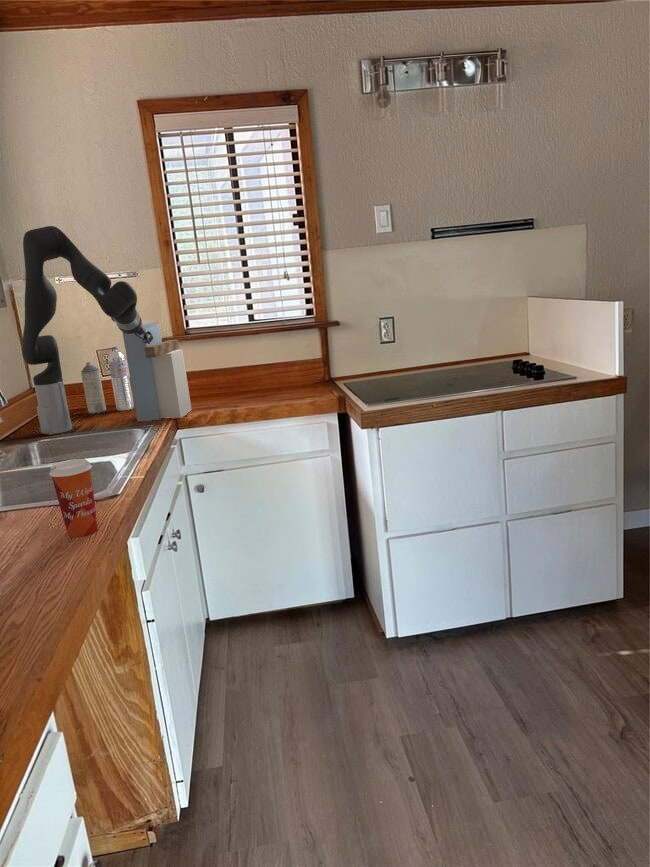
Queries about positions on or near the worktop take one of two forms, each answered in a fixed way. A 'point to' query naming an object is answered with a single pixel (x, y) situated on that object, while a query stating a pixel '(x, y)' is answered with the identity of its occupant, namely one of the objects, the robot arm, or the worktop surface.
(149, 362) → the tower
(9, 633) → the worktop surface
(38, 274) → the robot arm
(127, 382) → the water bottle
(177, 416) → the white tall block
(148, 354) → the bar
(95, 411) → the aerosol can
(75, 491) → the paper cup
